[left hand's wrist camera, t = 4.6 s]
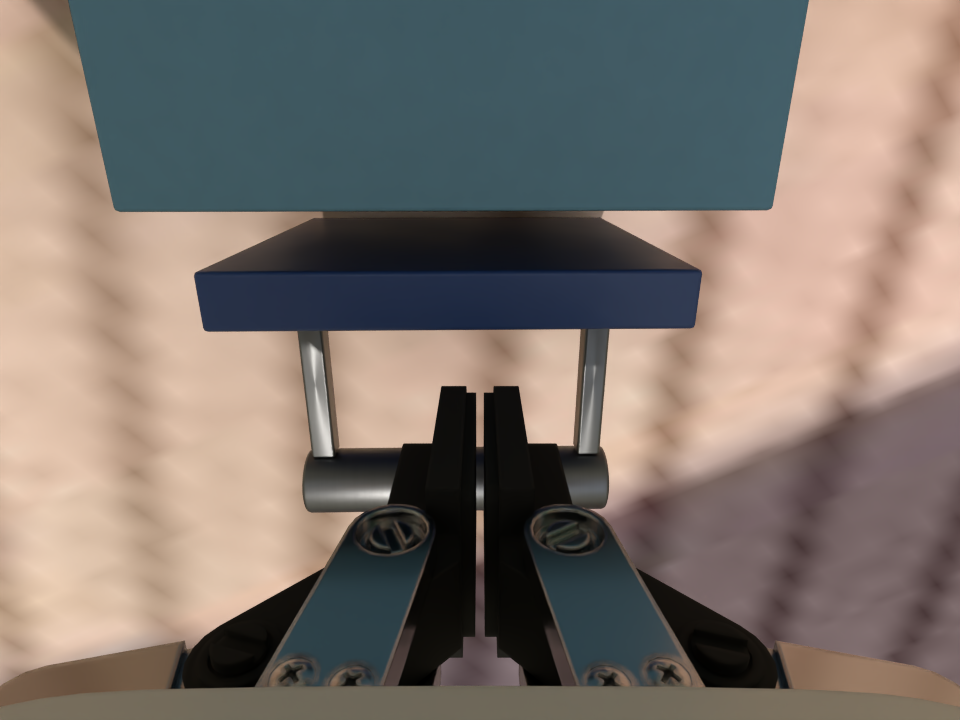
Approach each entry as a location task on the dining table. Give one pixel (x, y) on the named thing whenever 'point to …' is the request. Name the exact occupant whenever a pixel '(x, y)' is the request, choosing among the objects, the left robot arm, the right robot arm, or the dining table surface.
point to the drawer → (446, 315)
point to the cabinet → (440, 103)
